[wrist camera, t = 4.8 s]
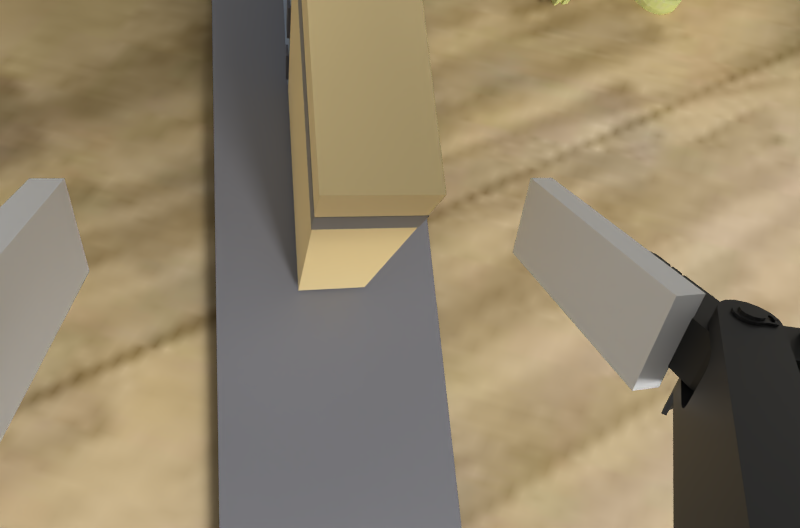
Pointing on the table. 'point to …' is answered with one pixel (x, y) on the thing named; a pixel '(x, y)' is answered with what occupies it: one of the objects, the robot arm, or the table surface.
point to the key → (647, 5)
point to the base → (313, 332)
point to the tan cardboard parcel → (360, 136)
